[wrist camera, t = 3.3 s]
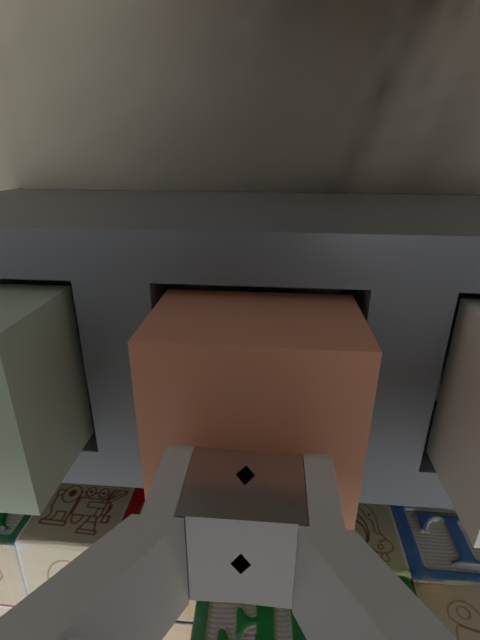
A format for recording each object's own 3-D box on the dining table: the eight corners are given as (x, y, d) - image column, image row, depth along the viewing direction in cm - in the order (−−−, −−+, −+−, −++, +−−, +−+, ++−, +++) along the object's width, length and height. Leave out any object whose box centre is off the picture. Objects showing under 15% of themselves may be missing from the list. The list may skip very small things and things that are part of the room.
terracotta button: (167, 288, 10) (127, 342, 7) (352, 294, 10) (382, 352, 7) (177, 436, 12) (148, 523, 9) (334, 445, 12) (353, 538, 9)
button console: (15, 188, 18) (-195, 222, 10) (544, 196, 16) (800, 243, 8) (46, 348, 20) (-95, 471, 13) (495, 367, 19) (649, 522, 11)
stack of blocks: (75, 472, 24) (-107, 767, 12) (59, 378, 21) (-185, 639, 10) (456, 502, 22) (641, 867, 11) (486, 406, 20) (761, 747, 9)
